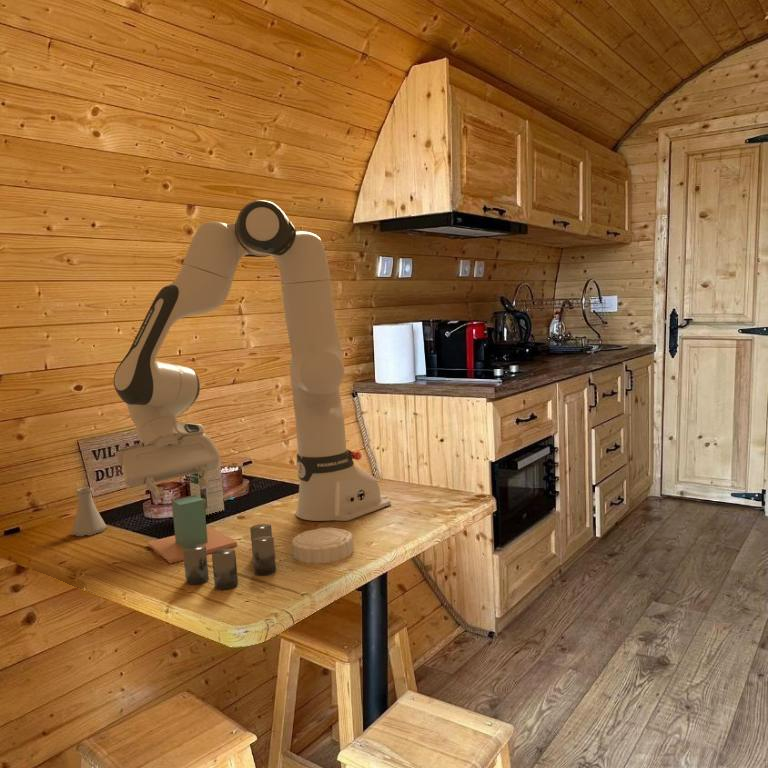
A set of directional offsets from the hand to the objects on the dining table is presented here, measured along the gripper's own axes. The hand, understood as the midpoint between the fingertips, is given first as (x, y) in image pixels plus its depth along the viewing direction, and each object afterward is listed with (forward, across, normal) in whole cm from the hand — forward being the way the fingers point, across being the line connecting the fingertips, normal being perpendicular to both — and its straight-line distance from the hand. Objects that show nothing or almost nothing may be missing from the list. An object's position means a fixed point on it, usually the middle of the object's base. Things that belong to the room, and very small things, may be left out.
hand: (183, 491), depth 146 cm
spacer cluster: (+24, +1, -9) cm, 26 cm away
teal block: (+9, 0, +6) cm, 10 cm away
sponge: (-12, +23, +28) cm, 38 cm away
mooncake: (+26, +18, -10) cm, 33 cm away
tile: (+9, 0, +6) cm, 11 cm away
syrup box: (-5, +12, +21) cm, 25 cm away
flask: (-10, -14, +25) cm, 30 cm away
